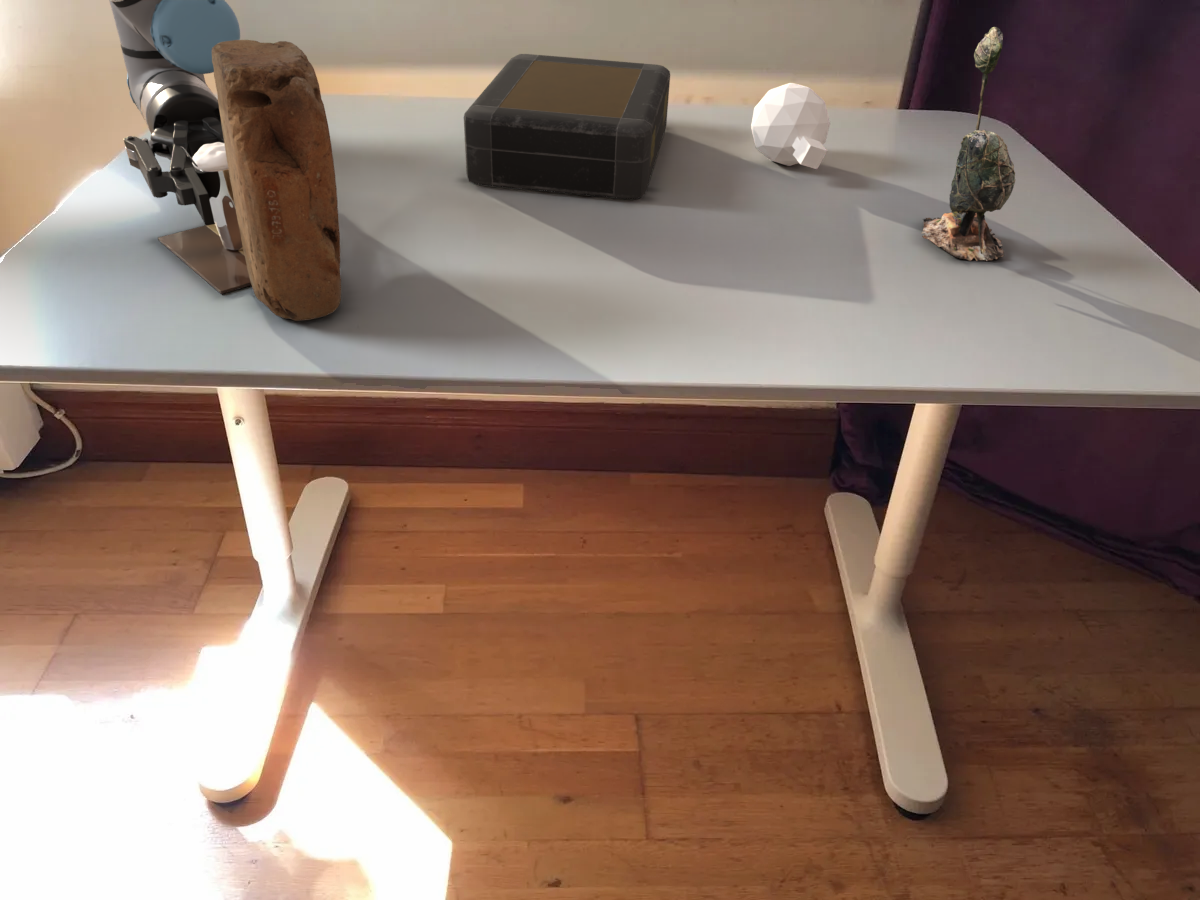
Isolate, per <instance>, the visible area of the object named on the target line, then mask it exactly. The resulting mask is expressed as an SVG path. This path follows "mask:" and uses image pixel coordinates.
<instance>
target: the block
mask: <svg viewBox="0 0 1200 900" xmlns="http://www.w3.org/2000/svg"><path fill="white" fill-rule="evenodd" d="M212 63H213V67H214V72H213V78H214V83H215V88H216V94H217V100H218V104H219V111H220V117H221V124H222V131H223V138H224V144H225V151H226V158H227V163H228V169H229V175H230V181H231V186H232V192H233V197H234V203H235V209H236V214H237V219H238V225H239V230H240V235H241V241H242V246H243V251H244V255H245V260H246V265H247V270H248V274H249V278H250V281H251V287H252V291H253V293H254V296H255V297H256V299H257V300H258V301H259V302H261V303H262V304H264V306H265V307H266V308H268V309H269V311H271V312H272V313H273V314H274V315H275V316H277V317H279V318H282V319H288V320H289V319H290V320H292V321H296V322H298V321H309V320H310V321H311V320H315V319H319V318H322V317H327V316H329V315H330V314H333V313H334V312H335V311H336V310H337V309H338V308H339V307H340V304H341V301H342V275H341V233H340V219H339V218H340V217H339V208H338V205H339V203H338V202H339V201H338V188H337V180H336V171H335V162H334V154H333V147H332V141H331V140H332V139H331V135H330V134H331V133H330V128H329V123H328V117H327V113H326V108H325V104H324V101H323V100H322V95H321V88H320V84H319V81H318V77H317V74H316V70H315V68H314V66H313V64H312V63H311V61H309V59H308V56H307V55H306V54H305V52H304V51H303V50H302V49H301V48H300V47H298V45H296V44H294V43H293V42H290V41H286V40H280V41H279V40H278V41H277V42H259V41H257V40H253V39H240V40H232V41H224V42H220V43H218V44H216V45H215V46H214V47H213V48H212Z"/></svg>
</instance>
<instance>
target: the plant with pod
mask: <svg viewBox="0 0 1200 900" xmlns="http://www.w3.org/2000/svg"><path fill="white" fill-rule="evenodd" d="M1003 38H1004V34H1003V31H1001V29H1000V28H999V27H997V26H993V27H991V28H990V29H989V31H987V32H986V33H985V34H984V35H983V38H982V39H981V40H980V42H978V43H977V46H976V48H975V50H974V53H973V58H974V63H975V64H974V66H975V68H977V69H978V70H979V72H981V73H982V77H981V89H980V102H979V105H978V108H979V110H978V114H977V122H976V124H975V125H976V126H975V130H973V131H972V132H969V133H968V134H965V135H963V137H962V141H960V144H961V145H960V149H959V151H958V156H957V160H956V163H955V171H954V175H953V179H952V180H951V185H950V186H951V189H950V193H949V205H948V206H949V209H950V212H947V213H945V212H944V213H943V214H942V216H941V217H937V218H936V217H934V218H931V217H925V218H923V219H922V221H923V222H922V224H923V229H922V232H921V234H923V235H922V238H923V239H924V240H928V241H930V242H931V243H933V244H934V245H935V246H936V247H938V248H940V247H941V248H942V250H943V251H944V252H946V253H948V254H949V255H950V256H953V257H955V258H957V259H958V258H959V260H960V259H962V260H967V261H970V262H971V261H972V260H973V259H975V261H976V262H978V261H986V262H988V261H993V260H994V259H995V260H998V259H999V258H1003V257H1004V256H1005V251H1004V250H1003V248H1004V247H1003V244H1002V241H1003V240H1002V239H998V238H997V237H996V233H993V229H992V228H990V227H989V224H988V223H987V221H986V215H985V214H986V212H990V213H992V212H994V211H1000V210H1001V209H1002V208H1003V207H1004V205H1005V204H1006V203H1007V202H1008V200H1009V198H1010V196H1011V195H1012V193H1013V190H1014V188H1015V184H1016V172H1015V165H1014V164H1015V163H1014V162H1013V161H1012V159H1011V157H1010V153H1009V150H1008V146H1007V143H1005V141H1004V139H1003V138H1002V136H1000V135H999V134H997V132H994V131H990V130H987V129H980V126H981V119H982V114H983V107H984V94H985V89H986V87H987V85H988V79H989V74H991V73H992V72H993V71H995V69H996V67H997V65H998V61H999V59H1000V56H1001V54H1002V53H1001V52H1002V49H1003Z"/></svg>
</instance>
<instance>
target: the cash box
mask: <svg viewBox="0 0 1200 900" xmlns="http://www.w3.org/2000/svg"><path fill="white" fill-rule="evenodd" d="M670 85H671V71H670V70H669V69H668V68H667V67H666V66H664V65H661V64H656V63H655V64H654V63H653V64H652V63H644V62H643V63H642V62H630V61H617V60H607V59H594V58H580V57H569V56H557V55H547V54H546V55H545V54H544V55H543V54H532V53H519V54H516V55H515V56H513V57H511V58H510V59H509V60H508V62H506V64H504V66H503V67H502V68H501V70H499V72H498V73H497V74H496V76H495V77H494V78H493V79H492V81H490V82H489V84H488V85H487V86H486V87H485V89H484V90H483V91H482V92H481V93H480V95H479V96H478V97H476V99H475V100H474V101H473V103H472V104H471V105H470V106H469V107H468V109H467V110H466V111H465V112H464V114H463V130H464V150H465V151H464V152H465V154H464V155H465V172H466V174H465V175H466V177H467V180H468V182H470V183H471V184H475V185H478V186H484V187H494V188H504V189H514V190H524V191H533V192H534V191H535V192H544V193H545V192H546V193H555V194H567V195H576V196H586V197H587V196H588V197H598V198H607V199H618V200H628V201H629V200H637V199H641V198H642V197H644V196H645V195H646V194H647V191H648V188H649V184H650V181H651V177H652V174H653V171H654V168H655V165H656V160H657V158H658V154H659V151H660V148H661V145H662V141H663V138H664V135H665V131H666V128H667V123H668V121H667V119H668V109H669V99H670Z"/></svg>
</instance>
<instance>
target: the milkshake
mask: <svg viewBox="0 0 1200 900" xmlns="http://www.w3.org/2000/svg"><path fill="white" fill-rule="evenodd" d="M181 148H182V149H183V151H184V152H185V153H186V155H187V156H188V157H189V158H190V160H191V161H192V164H193V166H194V169H195V171H196V173H197V175H198V177H199V178H200V180H201V182H202V184H203V185H204V187H205V189H206V191H207V193H208V195H209V200H210V204H211V209H212V213H213V218H214V222H215V224H216V227H217V230H218V233H219V236H220V239H221V241H222V244H223V245H224V247H225V248H226V249H230V250H243V246H242V241H241V235H240V230H239V225H238V219H237V214H236V209H235V203H234V197H233V192H232V186H231V181H230V175H229V169H228V163H227V158H226V151H225V144H224V143H221V142H216V143H212V144H205V145H203V146H202V147H200V149H199V150H198V151H197V152H196V153H195V154H194V156H193V158H191V157H190V155H189V154H188V153H187V151H186V150H185V149H184V148H183V147H181Z"/></svg>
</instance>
